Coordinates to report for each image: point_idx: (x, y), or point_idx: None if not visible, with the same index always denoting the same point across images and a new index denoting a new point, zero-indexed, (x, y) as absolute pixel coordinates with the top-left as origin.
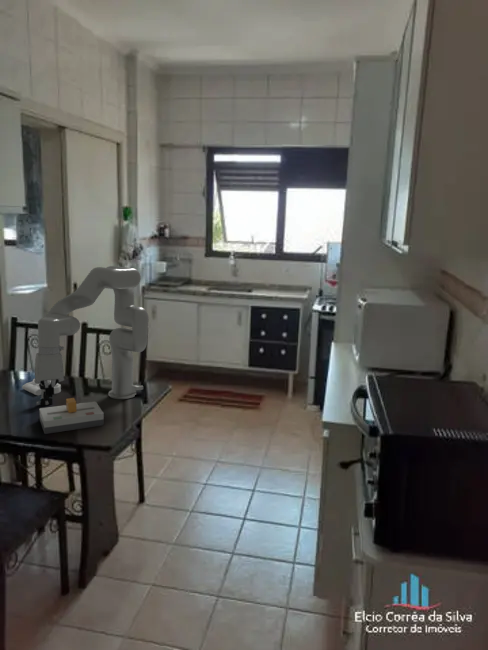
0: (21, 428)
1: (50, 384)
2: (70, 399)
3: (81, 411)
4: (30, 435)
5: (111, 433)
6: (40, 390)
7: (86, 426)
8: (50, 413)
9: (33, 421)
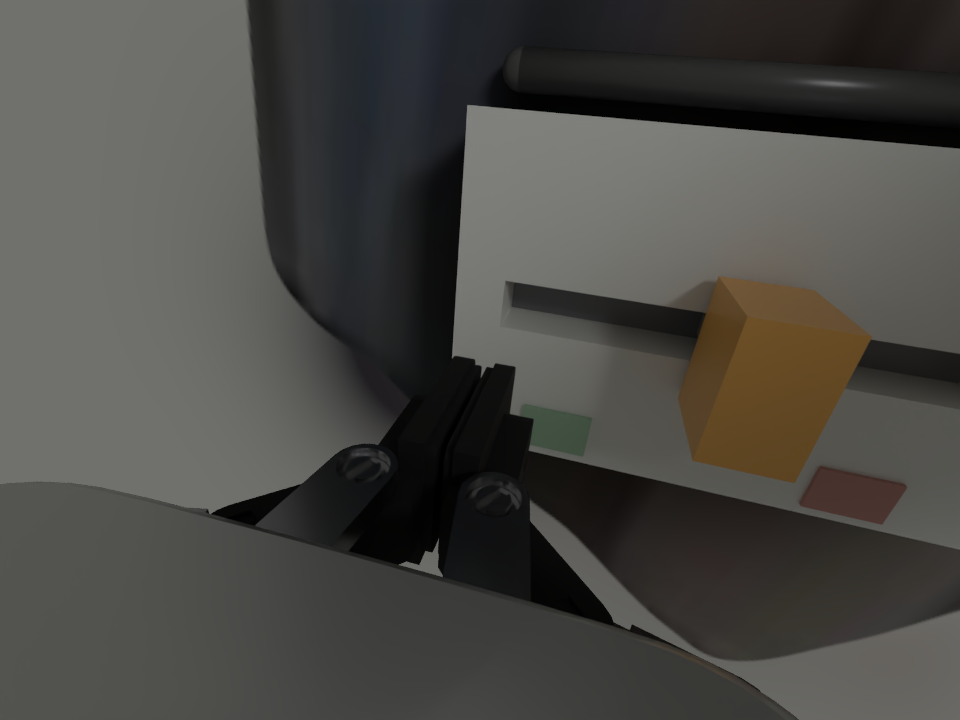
0: (354, 219)
1: (444, 531)
2: (785, 371)
3: None
4: (396, 357)
5: (844, 590)
6: None
7: None
8: (538, 284)
9: (447, 113)
